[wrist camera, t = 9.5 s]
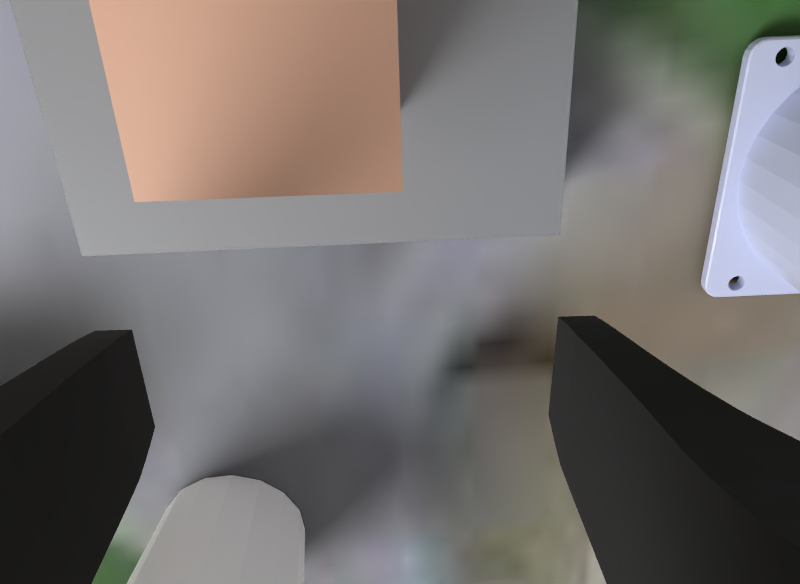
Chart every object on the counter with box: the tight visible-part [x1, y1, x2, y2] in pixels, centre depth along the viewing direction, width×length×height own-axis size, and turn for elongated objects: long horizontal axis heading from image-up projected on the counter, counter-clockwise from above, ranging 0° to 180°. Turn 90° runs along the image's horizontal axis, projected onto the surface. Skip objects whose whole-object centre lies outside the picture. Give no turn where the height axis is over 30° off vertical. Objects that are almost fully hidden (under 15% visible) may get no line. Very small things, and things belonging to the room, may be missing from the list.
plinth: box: [10, 0, 578, 256], centre depth 17 cm, size 13×11×3 cm
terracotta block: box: [89, 0, 403, 202], centre depth 13 cm, size 4×4×6 cm
